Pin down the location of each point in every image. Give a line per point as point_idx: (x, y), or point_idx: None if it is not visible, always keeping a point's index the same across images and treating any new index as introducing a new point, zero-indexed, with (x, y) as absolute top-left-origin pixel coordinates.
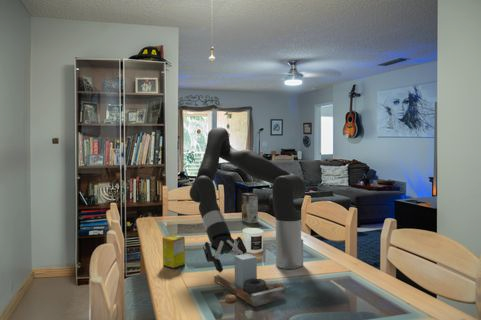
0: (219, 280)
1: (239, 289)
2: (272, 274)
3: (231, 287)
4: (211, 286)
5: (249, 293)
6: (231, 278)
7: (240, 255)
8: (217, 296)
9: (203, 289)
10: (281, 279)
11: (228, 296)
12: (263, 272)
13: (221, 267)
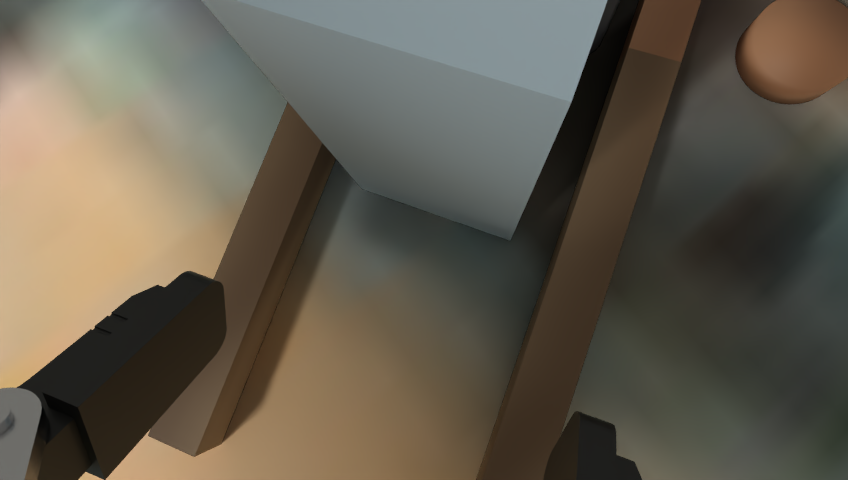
0: (554, 444)
1: (642, 58)
2: (12, 176)
3: (645, 169)
4: (660, 462)
5: None
6: (330, 444)
7: (449, 4)
8: (815, 212)
9: (789, 473)
10: (89, 35)
11: (822, 55)
12: (2, 281)
13: (599, 441)
